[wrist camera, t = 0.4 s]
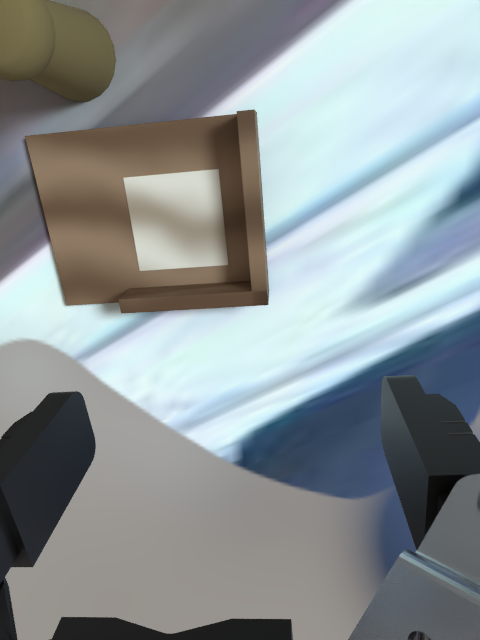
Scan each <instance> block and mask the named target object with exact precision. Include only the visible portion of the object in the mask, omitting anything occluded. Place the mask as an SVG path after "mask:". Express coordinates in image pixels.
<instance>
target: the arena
mask: <svg viewBox="0 0 480 640" xmlns="http://www.w3.org/2000/svg"><path fill="white" fill-rule="evenodd" d="M25 138H26V142H27V146H28V150H29V154H30V158H31V162H32V166H33V170H34V174H35V178H36V182H37V186H38V190H39V194H40V198H41V203H42V207H43V211H44V215H45V219H46V223H47V227H48V231H49V235H50V239H51V243H52V247H53V251H54V255H55V259H56V263H57V267H58V271H59V275H60V279H61V283H62V287H63V292H64V296H65V300H66V304H67V305H82V304H98V303H115V302H119V304H120V309H121V313H136V312H154V311H171V310H188V309H206V308H223V307H240V306H258V305H268V300H269V283H268V269H267V255H266V240H265V226H264V211H263V197H262V182H261V168H260V154H259V139H258V125H257V112H256V111H255V110H246V111H237V114H233V115H223V116H214V117H204V118H195V119H185V120H175V121H166V122H156V123H147V124H137V125H127V126H118V127H108V128H99V129H89V130H79V131H70V132H60V133H51V134H41V135H31V136H25Z"/></svg>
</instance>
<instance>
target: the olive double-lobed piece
mask: <svg viewBox="0 0 480 640" xmlns="http://www.w3.org/2000/svg"><path fill="white" fill-rule="evenodd" d="M115 62H116V59H115V52H114V45H113V43H112V41H111V38H110V36H109V34H108V31H107V30H106V29H105V27H104V26H103V25H102V24H101V22H100V21H99V20H98V19H97V18H95V17H94V16H92V15H91V14H90V13H88V12H87V11H84V10H80V9H77V8H73V7H70V6H66V5H63V4H60V3H56V2H53V1H49V0H0V78H1V79H4V80H9V81H19V80H27V79H30V80H32V81H33V82H35V83H37V84H39V85H41V86H43V87H45V88H47V89H48V90H50V91H52V92H54V93H56V94H58V95H60V96H62V97H63V98H65V99H69V100H73V101H76V102H81V101H90V100H92V99H94V98H96V97H98V96H100V95H101V94H102V93H103V92H104V91H105V90H106V89H107V88H108V86H109V84H110V82H111V80H112V78H113V75H114V70H115Z"/></svg>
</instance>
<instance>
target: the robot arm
mask: <svg viewBox="0 0 480 640" xmlns="http://www.w3.org/2000/svg"><path fill="white" fill-rule="evenodd" d="M381 436H382V444H383V449H384V453H385V456H386V459H387V462H388V465H389V468H390V471H391V474H392V477H393V481H394V484H395V487H396V490H397V493H398V496H399V498H400V501H401V505H402V508H403V511H404V514H405V517H406V520H407V523H408V526H409V529H410V532H411V535H412V538H413V541H414V544H415V547H416V550H417V551H416V552H415V553H414V552H412V551H409V550H405V551H403V552H402V553H401V555H400V556H399V557H398V559H397V560H396V562H395V564H394V565H393V567H392V569H391V570H390V572H389V573H388V575H387V577H386V578H385V580H384V582H383V583H382V585H381V586H380V588H379V590H378V592H377V593H376V595H375V596H374V598H373V600H372V601H371V603H370V605H369V606H368V608H367V610H366V611H365V613H364V614H363V616H362V618H361V619H360V621H359V623H358V624H357V626H356V628H355V629H354V631H353V633H352V634H351V636H350V638H349V639H348V640H480V442H479V441H478V439H477V438H476V436H475V435H473V432H472V430H471V428H470V427H469V425H468V424H467V423H465V419H464V418H463V416H462V414H461V413H460V411H459V410H458V408H457V407H456V405H454V404H453V403H451V402H450V401H448V400H447V399H446V398H444V397H443V396H441V395H440V394H425V392H424V390H423V389H422V387H421V385H420V383H419V382H418V380H417V378H416V377H415V376H414V375H407V376H387V377H383V380H382V403H381ZM94 454H95V437H94V433H93V430H92V426H91V423H90V419H89V416H88V412H87V409H86V405H85V401H84V398H83V396H82V394H81V393H79V392H57V393H50V394H48V395H47V396H46V397H45V398H44V399H43V401H42V402H41V403H40V404H39V405H38V406H37V407H36V409H35V410H34V411H33V412H30V413H29V414H27V415H26V416H24V417H23V418H21V419H20V420H18V421H17V422H15V423H14V424H13V425H12V426H11V427H10V428H9V429H8V430H7V431H6V432H5V434H4V435H3V436H2V439H0V640H17V633H16V628H15V621H14V615H13V609H12V603H11V597H10V591H9V586H8V583H7V581H6V578H5V576H6V574H7V573H8V571H9V569H10V567H33V566H34V564H35V562H36V561H37V559H38V557H39V555H40V553H41V552H42V550H43V548H44V546H45V544H46V543H47V541H48V539H49V537H50V536H51V534H52V532H53V530H54V528H55V527H56V525H57V523H58V521H59V520H60V518H61V516H62V514H63V513H64V511H65V509H66V507H67V506H68V504H69V502H70V500H71V498H72V497H73V495H74V493H75V491H76V490H77V488H78V486H79V484H80V482H81V481H82V479H83V477H84V475H85V473H86V472H87V470H88V468H89V466H90V465H91V463H92V461H93V458H94ZM50 640H293V635H292V624H291V619H229V620H226V621H222V622H218V623H214V624H210V625H206V626H202V627H198V628H194V629H190V630H186V631H183V632H179V633H174V634H166V633H162V632H159V631H156V630H152V629H149V628H146V627H143V626H140V625H137V624H134V623H131V622H127V621H124V620H121V619H118V618H97V617H62V618H61V620H60V622H59V624H58V627H57V629H56V631H55V633H54V636H53V638H52V639H50Z"/></svg>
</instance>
